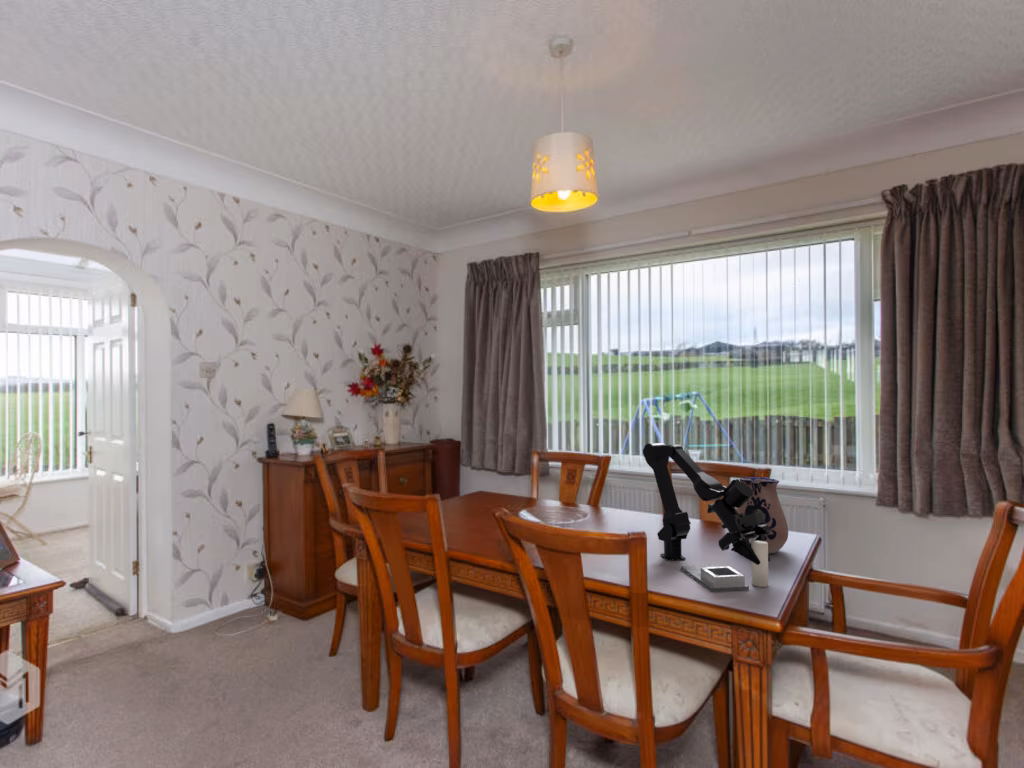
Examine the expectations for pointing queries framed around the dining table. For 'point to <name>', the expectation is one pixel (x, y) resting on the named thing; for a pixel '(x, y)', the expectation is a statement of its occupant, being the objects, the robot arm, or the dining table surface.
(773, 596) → the dining table surface
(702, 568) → the socket
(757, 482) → the ceramic pitcher
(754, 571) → the peg
